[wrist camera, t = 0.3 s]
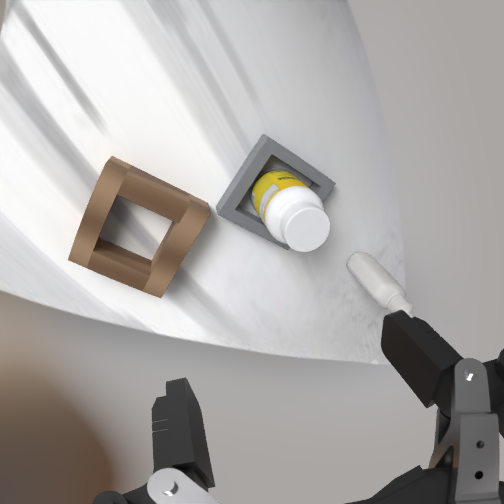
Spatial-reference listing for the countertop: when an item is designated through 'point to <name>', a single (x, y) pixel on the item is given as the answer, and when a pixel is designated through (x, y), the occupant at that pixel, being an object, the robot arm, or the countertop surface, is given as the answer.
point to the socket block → (153, 198)
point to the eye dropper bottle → (379, 283)
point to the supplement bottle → (290, 210)
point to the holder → (247, 176)
